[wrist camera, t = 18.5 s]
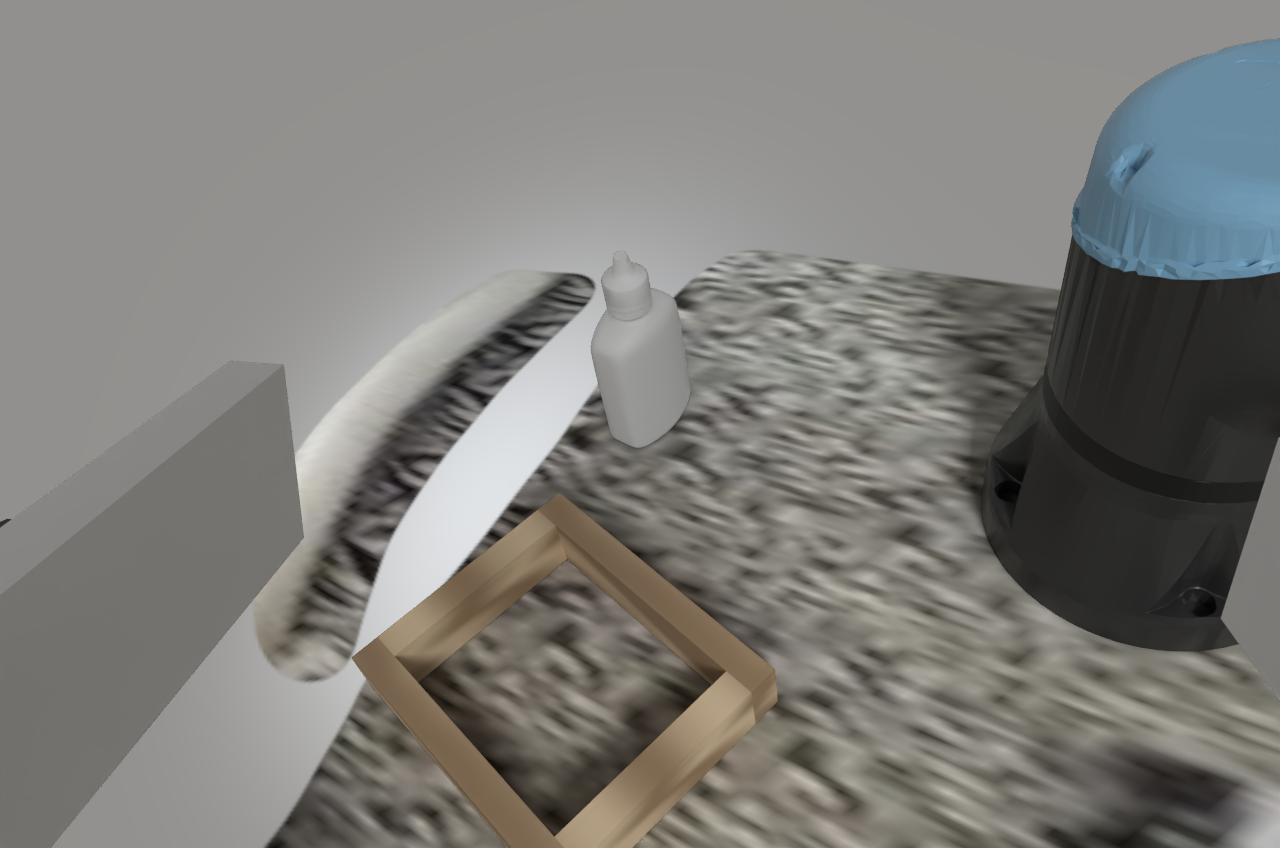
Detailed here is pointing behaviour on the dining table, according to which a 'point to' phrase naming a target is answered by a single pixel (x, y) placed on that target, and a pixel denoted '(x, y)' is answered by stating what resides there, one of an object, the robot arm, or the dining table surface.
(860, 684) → the dining table surface
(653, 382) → the eye dropper bottle
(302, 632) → the dining table surface
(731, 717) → the oak collar
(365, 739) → the dining table surface
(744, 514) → the dining table surface
